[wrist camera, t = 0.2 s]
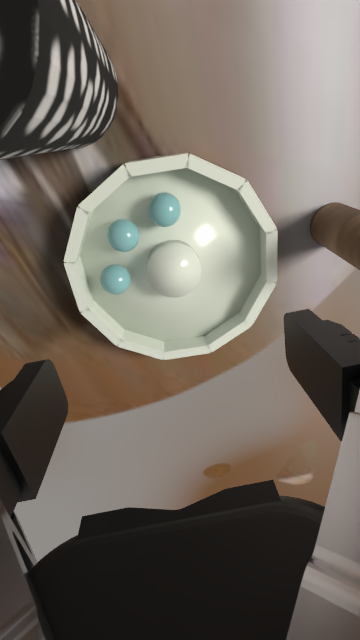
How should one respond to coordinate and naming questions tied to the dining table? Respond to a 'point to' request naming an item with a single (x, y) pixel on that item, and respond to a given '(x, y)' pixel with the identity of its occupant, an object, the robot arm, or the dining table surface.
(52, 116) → the white-spotted black cylinder
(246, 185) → the tray
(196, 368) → the dining table surface
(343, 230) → the pepper mill
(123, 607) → the robot arm
